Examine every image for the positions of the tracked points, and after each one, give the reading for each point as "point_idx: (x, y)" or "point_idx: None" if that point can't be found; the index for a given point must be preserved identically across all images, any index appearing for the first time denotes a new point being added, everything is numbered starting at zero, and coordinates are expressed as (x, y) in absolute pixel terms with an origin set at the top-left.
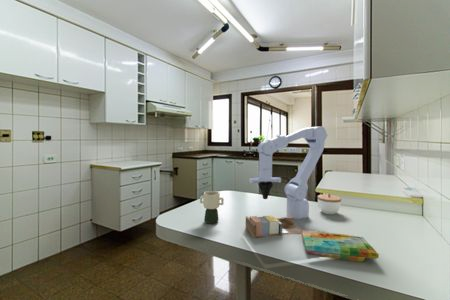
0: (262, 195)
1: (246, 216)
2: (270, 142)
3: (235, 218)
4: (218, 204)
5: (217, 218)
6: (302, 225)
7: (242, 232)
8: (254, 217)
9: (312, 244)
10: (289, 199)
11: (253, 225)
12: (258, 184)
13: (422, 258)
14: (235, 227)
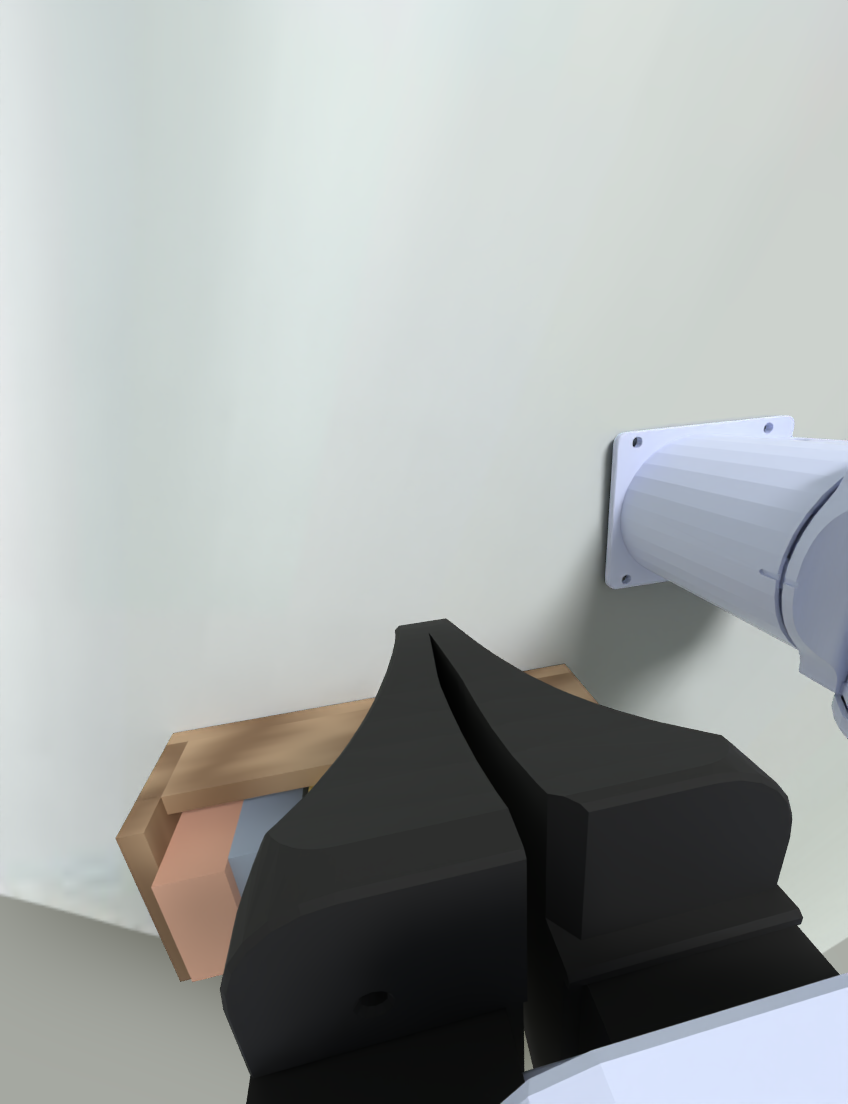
0: (395, 648)
1: (124, 838)
2: None
3: (70, 466)
4: None
5: None
6: (634, 658)
7: (145, 765)
8: (199, 906)
9: None
10: (783, 612)
11: (180, 972)
12: (275, 835)
13: (830, 916)
14: (80, 684)
